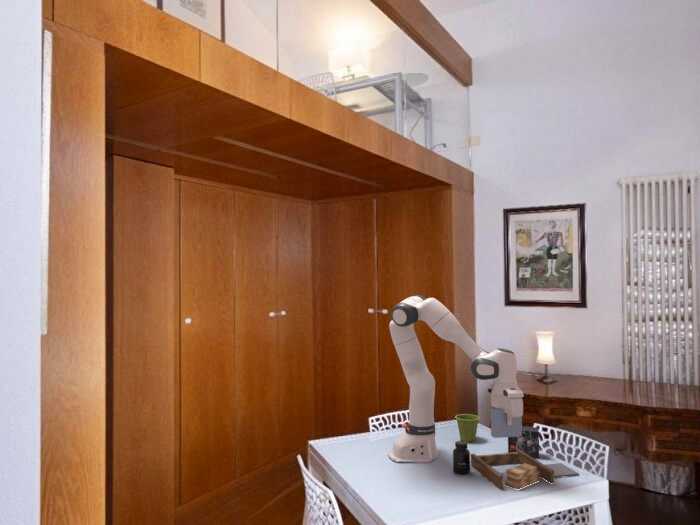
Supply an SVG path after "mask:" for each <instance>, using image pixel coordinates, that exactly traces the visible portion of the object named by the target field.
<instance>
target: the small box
mask: <svg viewBox="0 0 700 525" xmlns="http://www.w3.org/2000/svg"><path fill="white" fill-rule="evenodd" d="M539 435H540V434H539V427H537V426H527V425H526V426H523V425H522V436H518V437H507V453H513V452H516V450H521V451H523V452H524V453H526V454H528V455H529V456H531V457H532V458H534V459H536V458H538V460H539V459H540V438H539V437H540V436H539Z"/></svg>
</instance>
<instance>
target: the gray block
mask: <svg viewBox="0 0 700 525" xmlns="http://www.w3.org/2000/svg"><path fill="white" fill-rule="evenodd" d="M507 418H508V417H507V414H506V413H504V410H503V409H501V408H495V407H491V408H490V436H491V437H493V439H499V438H508V437H518V436H522V426H523V425H522V424H523V423H522V422H523V420H522V418H523V417H519V418H514V417H513V419H512V425H507V424H506V420H507Z"/></svg>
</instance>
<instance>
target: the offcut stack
mask: <svg viewBox="0 0 700 525" xmlns="http://www.w3.org/2000/svg"><path fill="white" fill-rule="evenodd" d="M505 476H506V479H505V480H504V486H505V485H506V486H505V487H507V486H509V487H508V488H510V487H512V488H516V489H520V488H523V487H525V486H527V485H530V484H533V483H535V482H537V481H540V480H541V479H542V478H541V477H540V472H539V471H537V467H536V466H533V465H530V464H526V463H524V464H519V465H517V466H514V467H511V468H509V469H506V470H505ZM541 481H542V480H541ZM533 485H534V484H533ZM512 488H511V489H512Z"/></svg>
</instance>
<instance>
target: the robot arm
mask: <svg viewBox="0 0 700 525" xmlns="http://www.w3.org/2000/svg"><path fill="white" fill-rule="evenodd" d="M390 318H391V320H390V322H389V325H388V326H389V332H390V336H391V340H392V343H393V345H394V349H395V351H396V354H397V357H398V358H399V362H400V364H401V368H402V370H403V374H404V377H405V379H406V381H407V384H408V385H409V405H408V415H409V416H408V420H409V421H408V423H405V422H403V423H402V424H401V427H402V428H403V429H404V430H405V431H404V432H403V433H402V434H401V435H400V436H399V437H397V438H396V439H395V440H394V441H393V444H392V449H391V450H389V451H388V452H387V456H388V455H389V457H390V458H391V459H393V460H394V461H397V462H415V463H431V462H433V460H435V459H437V458H438V457H439V453H438V449H437V445H436V443H437V442H436V424H435V421H434V420H435V416H434V415H435V413H434V409H435V408H434V405H435V394H436V393H435V391H436V380H435V378H434V377H435V376H433V374H432V373H431V372H430V370H429V369H428V365H427V363H426V358H425V355H424V353H423V352H424V351H423V350H422V349H423V348H422V346H421V344H420V342H419V339H418V336H417V334H416V331H415V327H414V324H416V323H418V322H419V321H423V322H424V323H426V324H427V325H428V327H429V328H430V329H431V330H432V331H433V333H435V334H436V335H437V336H438V337H439V338H440V339H441V340H443V341H446V342H448V341H449V342H451V343H453V344H455V345H457V346H458V347H459V348H461V350H462V351H463V352H464V353H465V354H466V355H467V356H468V357H469V358H470V359H471V361H472V362H471V364H470V371H471V373H472V375H473V377H474V378H476V379H477V380H480V381H481V380H482V381H486V380H487V381H488V380H494V386H493V387H492V390H491V396H490V404H491V407H492V408H501V409H503V410H504V413H506V414H507V417H508V418H507V420H506V424H507V425H512V419H513V417H514V418H519V417H522V416H523V415H524V401H523V398H524V391H523V390H522V389H521V387H520V386H519V385H518V380H517V373H518V364H517V357H516V354H515V352H513V351H512V350H510V349H506V348H501V347H498V348H496V349H495V350H493V351H491V352H488V351H486V350H485V349H483V348H481V346H480V345H479V344H478V343H477V342H476V341H475V340H474V339H473V338H472V337H471V336H470V335H469V334H468V332H466V330H465V329H464V328H463V326H462V325H461V323H460V321H459V320H458V319H457V318H456V316H455V315H454V314H453V313H452V312H451V311H450V310H449V309H448V307H446V306H445V305H444V304H443V303H442V302H440V301H439V300H438V299H436V298H435V297H428V298H426V297H425V296H423V295H420V294H414V295H412V296H408V297H407V298H404V299H403V300H402V301H400V302H398V303H397V304H395V305H394V307H392V309H391V313H390ZM522 418H523V417H522ZM389 457H388V458H389ZM390 458H389V459H390ZM391 459H390V460H391ZM394 461H393V462H394ZM397 462H396V463H397Z"/></svg>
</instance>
